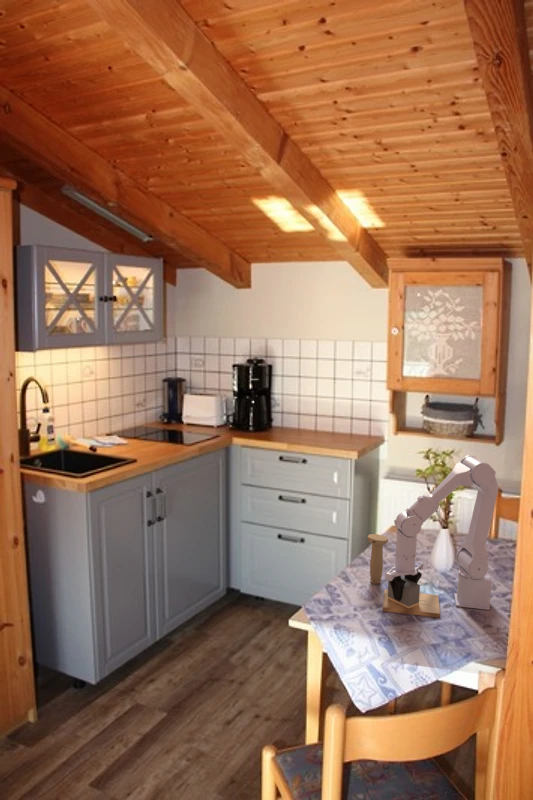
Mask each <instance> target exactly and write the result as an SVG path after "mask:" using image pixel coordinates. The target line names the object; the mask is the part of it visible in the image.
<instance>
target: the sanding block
mask: <svg viewBox="0 0 533 800" xmlns="http://www.w3.org/2000/svg"><path fill="white" fill-rule="evenodd" d="M401 578H402V580H404V581H406V583H405V585H404V588H403V592H402V598H401V601H397V600H395V599H394V595H393V591H392V587H391V585H390V582H389V581H388V580H387V581H388V584H387V585H388V586H387V590H388V599H390V600H392V601H394V602H396V603H398V604H400V605H402V606H404V607H406V608H408V609H409V608H411V607H414V606H416V605H418V604H419V595H420V593H421V592H420V590H421V584H419V583H415V582H412V581H410V580H408V579H406V578H405V577H404V576H401Z"/></svg>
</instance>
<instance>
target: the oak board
mask: <svg viewBox="0 0 533 800" xmlns="http://www.w3.org/2000/svg"><path fill="white" fill-rule="evenodd" d="M383 591H384V592H383V602H382V612H387V611H388V613H396V614H406V615H415V616H423V617H432V618H440V616H441V611H440V610H441V609H440V602H439V601H440V600H439V594H434V593H433V594H430V593H423V592H422V593H421V592H420V595H419V604H418V605H416V606H414V607H411V608H409V609H408V608H406V607H404V606H402V605H400V604H398V603H396V602H394V601H392V600H390V599H388V588H387V589H385V588H384V590H383Z"/></svg>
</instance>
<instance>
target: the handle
mask: <svg viewBox="0 0 533 800" xmlns="http://www.w3.org/2000/svg"><path fill="white" fill-rule="evenodd" d="M367 541H368V542H369V543H370V544H371V556H370V564H369V574H370V582H371V583H372V584H374V585H378V584H381V583H382V576H383V571H384V570H383V569H384V567H383V566H384V558H383V557H384V556H383V554H384V553H383V552H384V551H383V548H384V547H383V546H384V545H386V544H388V543H389V537H387V536H385V535H382V534H377V533H371V534H368V535H367Z"/></svg>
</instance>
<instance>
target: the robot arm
mask: <svg viewBox="0 0 533 800" xmlns="http://www.w3.org/2000/svg"><path fill="white" fill-rule="evenodd" d="M496 474H497V473H496V470H494V468H493V467H492V466H491V465H490V464H488V463H486V462H484V461H482V460H481V459H479V458H477V456H475V455H469V454H468V455H466V456H464V457H463V458H461V460H460V461H458V462H457V463H456V464H455V465H454V467H453V469H452V470H451V472H450V473H449V474H448V475H447V476H446V477H445V478H444V479H443V480H442V481H441V482H440V483H439V484H438V485H437V486H436V488H435V489H434V490H432V492H431V493H426V494H425V493H424V494H422V496H421V495H420V496H418V497H417V498H416V499H417V500H416V501H415V502H414V503H413V504H412V505H411V506H410V507H409V508H406V509H405V510H404V511H403V512H399V513H398V514H397V516H396V519H394V521H393V522H394V526H395V527H396V529H397V530H396V544H395V545H396V546H395V563H394V566H392V568H391V569H390V570H389V571H387V572H385V580H387V581H389V582H390V585H391V587H392V591H393V595H394V599H395V600H397V601H401V598H402V592H403V588H404V585H405V583H406V581H404V580H402V578H401V577H404V578H406V579H408V580H410V581H412V582H415V583H417V584H419V581H420V579H422V576H423V575H422V572H419V570H421V571H422V570H424V564H425V563H423V562H421V561H419V560H418V561H416V559H417V558H416V557H417V541H418V538H417V537H418V534H420V532H421V530H422V525H424V523H425V522H426V521H427V520H429V519H430V518H431V517H432V516H433V515H434V514H435V513H436V512H437V511H438V510H439V505H440V503H441V502H442V501H443V500H444V499H446V498H447V497H448V496H449V495H450V494H452V493H453V492H454V491H455V490H456V489H457V488H459V487H460V486H475V488H476V489H477V492H476V493H477V494H476V498H475V502H474V506H473V511H472V516H471V520H470V523H469V524H470V525H469V527H468V533H467V538H466V540H465V541H463V542H462V543H461V545H460V547H459V550H457V552H456V555H455V560H456V563H457V565H459V566H458V574H457V589H456V593H454V600H455V601H454V602H455V607H461V608H470V609H477V610H478V609H479V610H487V611H489V610H490V609H491V608H490V605H491V591H492V580H491V579H492V578H491V575H488V572H489V570H490V569H489V568H490V567H489V563H488V562H489V561H488V560H489V554H488V550H487V548H486V544H487V542H488V541H487V539H488V536H489V531H490V529H491V528H490V527H491V523H492V518H493V514H494V510H495V505H496V501H497V497H498V493H499V486H498V485H499V484H498V482H497V478H496Z"/></svg>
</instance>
